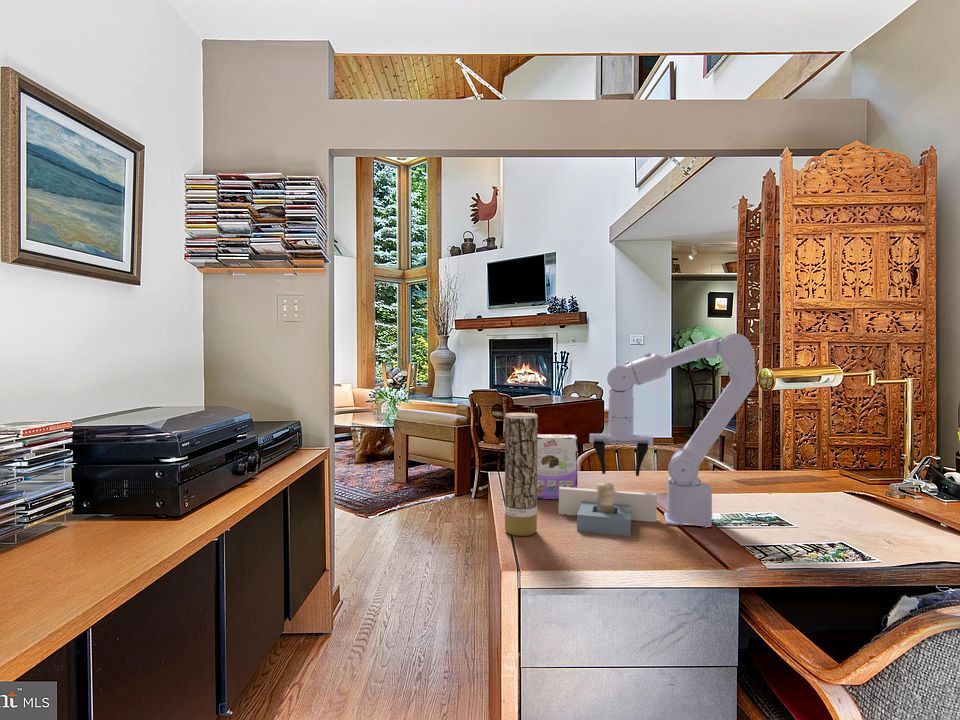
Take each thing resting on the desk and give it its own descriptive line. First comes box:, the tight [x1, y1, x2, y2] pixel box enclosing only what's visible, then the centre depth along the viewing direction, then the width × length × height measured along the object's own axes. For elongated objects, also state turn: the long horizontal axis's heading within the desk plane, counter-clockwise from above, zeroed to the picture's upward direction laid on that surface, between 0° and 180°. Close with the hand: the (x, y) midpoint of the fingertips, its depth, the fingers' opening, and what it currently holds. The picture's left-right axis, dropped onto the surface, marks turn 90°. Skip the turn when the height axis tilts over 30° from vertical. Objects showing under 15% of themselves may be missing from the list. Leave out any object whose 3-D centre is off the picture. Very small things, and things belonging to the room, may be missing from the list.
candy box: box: [537, 433, 578, 500], centre depth 143 cm, size 14×6×16 cm, turn 84°
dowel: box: [596, 482, 615, 514], centre depth 120 cm, size 4×4×8 cm
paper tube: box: [504, 412, 539, 537], centre depth 115 cm, size 7×7×25 cm
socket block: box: [576, 501, 632, 537], centre depth 120 cm, size 11×11×4 cm
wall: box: [558, 487, 658, 523], centre depth 126 cm, size 22×2×6 cm, turn 75°
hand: (620, 474), depth 129 cm, fingers open, 7 cm apart
